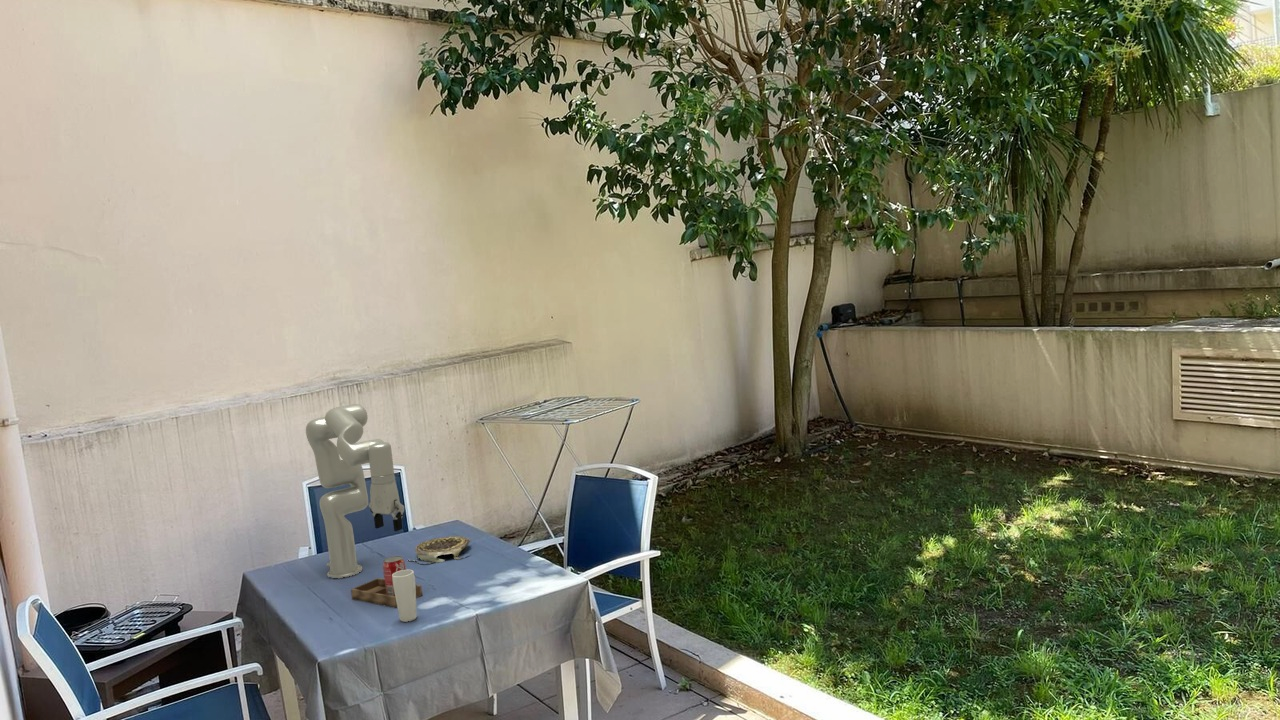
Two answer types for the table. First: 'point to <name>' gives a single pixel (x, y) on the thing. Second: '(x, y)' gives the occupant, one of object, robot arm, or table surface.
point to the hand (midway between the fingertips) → (388, 528)
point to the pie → (441, 548)
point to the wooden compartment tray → (377, 593)
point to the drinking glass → (405, 594)
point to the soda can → (392, 571)
